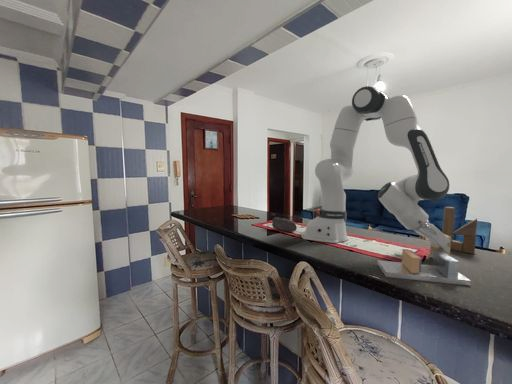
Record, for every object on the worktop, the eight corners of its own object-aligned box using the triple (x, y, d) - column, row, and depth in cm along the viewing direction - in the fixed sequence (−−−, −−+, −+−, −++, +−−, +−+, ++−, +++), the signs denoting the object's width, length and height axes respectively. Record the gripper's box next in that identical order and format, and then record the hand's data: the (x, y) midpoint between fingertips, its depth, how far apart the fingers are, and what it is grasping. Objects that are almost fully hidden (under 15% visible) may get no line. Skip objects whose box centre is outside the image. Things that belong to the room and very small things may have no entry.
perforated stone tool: (298, 232, 125) (299, 219, 124) (293, 234, 121) (294, 221, 120) (276, 227, 135) (276, 216, 134) (271, 229, 131) (271, 217, 130)
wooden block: (474, 254, 92) (477, 210, 90) (440, 248, 99) (443, 207, 98) (474, 252, 94) (478, 209, 93) (441, 246, 102) (444, 206, 100)
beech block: (436, 260, 84) (438, 236, 83) (429, 255, 88) (431, 233, 88) (449, 261, 83) (451, 237, 82) (441, 256, 87) (443, 233, 87)
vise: (386, 276, 71) (387, 256, 71) (377, 264, 81) (378, 246, 80) (470, 285, 66) (472, 263, 65) (450, 271, 75) (452, 252, 75)
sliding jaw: (411, 272, 70) (412, 257, 70) (401, 262, 78) (402, 249, 77) (420, 273, 69) (422, 258, 69) (410, 263, 77) (411, 249, 77)
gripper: (435, 218, 76) (467, 250, 74) (410, 209, 95) (435, 233, 94) (419, 231, 77) (450, 262, 76) (397, 219, 97) (422, 243, 95)
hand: (442, 246), depth 85 cm, fingers closed on beech block, 5 cm apart
